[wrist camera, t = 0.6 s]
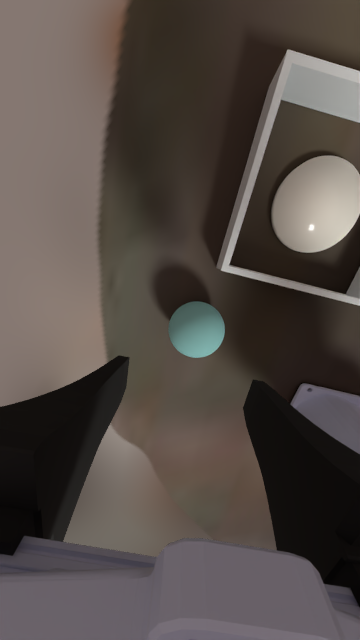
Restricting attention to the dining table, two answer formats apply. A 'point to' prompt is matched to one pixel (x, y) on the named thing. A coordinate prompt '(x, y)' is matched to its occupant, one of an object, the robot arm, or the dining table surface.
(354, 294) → the white square frame
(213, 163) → the dining table surface
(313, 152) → the dining table surface
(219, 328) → the ball
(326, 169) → the saucer
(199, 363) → the dining table surface
